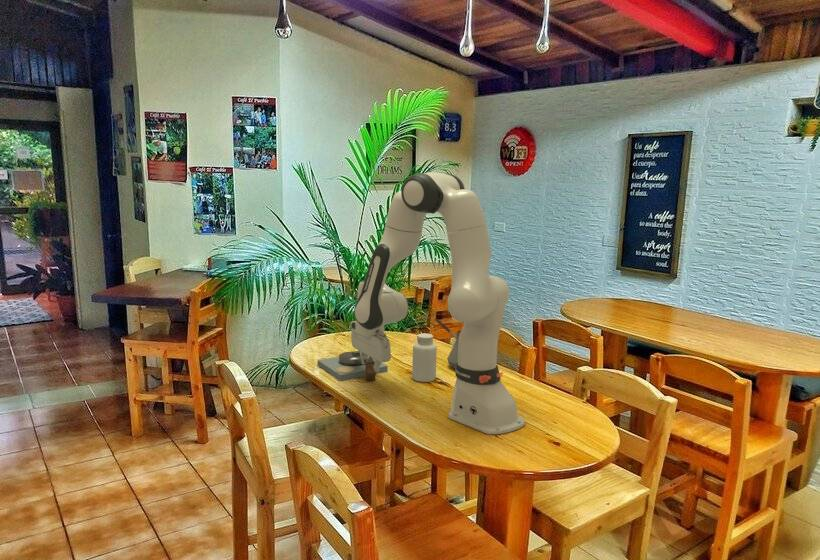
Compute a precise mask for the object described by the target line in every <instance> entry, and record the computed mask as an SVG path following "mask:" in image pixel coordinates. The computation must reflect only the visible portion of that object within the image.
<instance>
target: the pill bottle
mask: <svg viewBox="0 0 820 560" xmlns="http://www.w3.org/2000/svg"><path fill="white" fill-rule="evenodd" d="M437 354H438V347H437V345H436V343H434V335H433V334H431V333H425V332H423V333H418V334H417V336H416V342H415V343H414V344H413V346H412V362H411V363H412V369H411V371H412V372H411V375H412V376H411V378H412V379H413V380H414V381H417V382H421V383H428V382H429V383H430V382H433V381H435V380H436V377H437V374H436V373H437Z"/></svg>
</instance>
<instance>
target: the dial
mask: <svg viewBox="0 0 820 560" xmlns="http://www.w3.org/2000/svg"><path fill="white" fill-rule="evenodd" d="M338 356H339V363H340V364H343V365H347V366H358V365H363V364H362V359H361V356H360V351H359V350H355V351H354V350H353V351H345V352H342V353H340V354H339V355H338ZM367 359H368V355H367Z"/></svg>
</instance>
